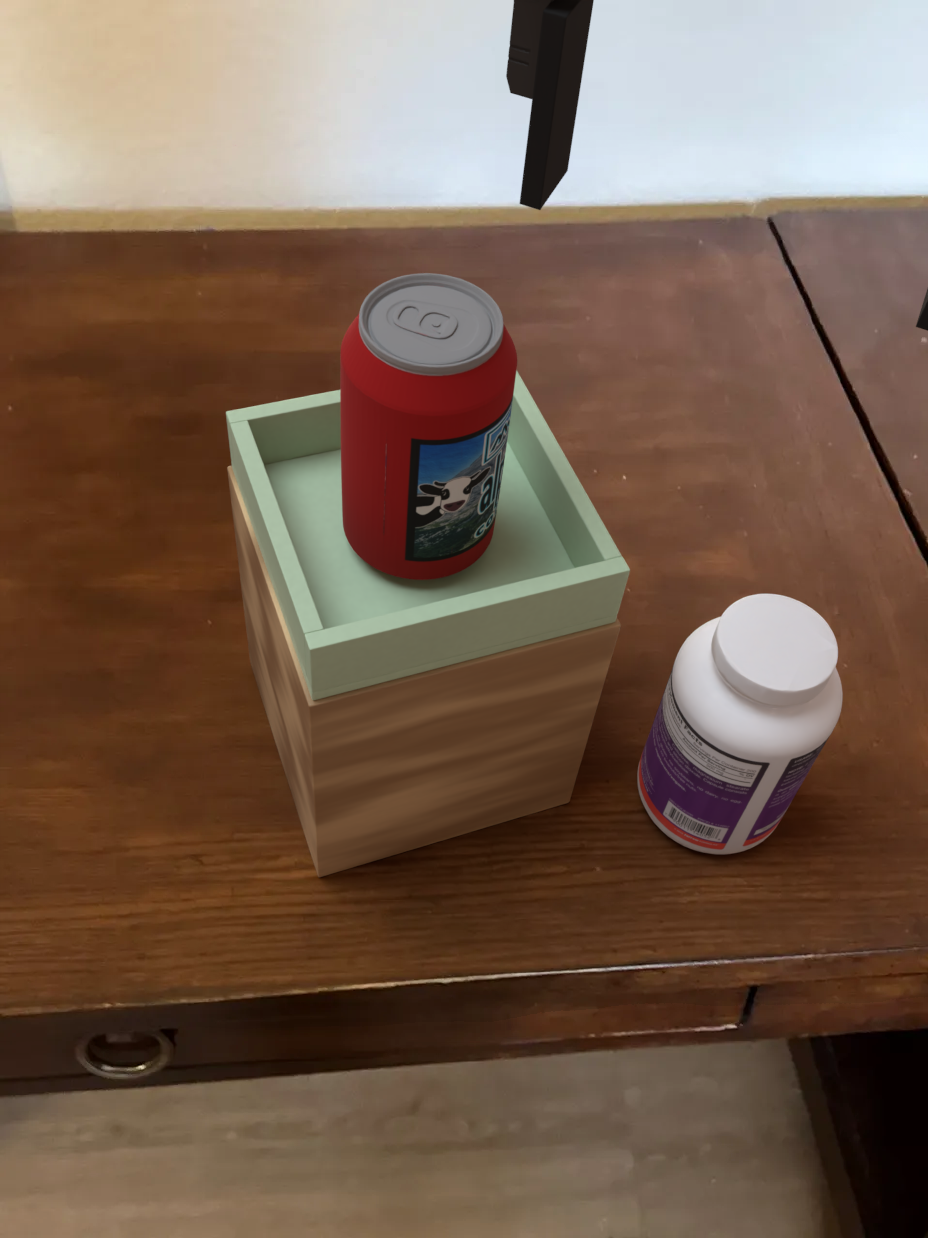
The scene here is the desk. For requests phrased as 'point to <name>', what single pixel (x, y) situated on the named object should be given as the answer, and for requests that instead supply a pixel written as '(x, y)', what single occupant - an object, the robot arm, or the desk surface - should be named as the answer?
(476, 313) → the beverage can
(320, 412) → the tub
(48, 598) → the desk surface
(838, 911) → the desk surface
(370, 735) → the stand
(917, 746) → the desk surface
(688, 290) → the desk surface
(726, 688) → the pill bottle
